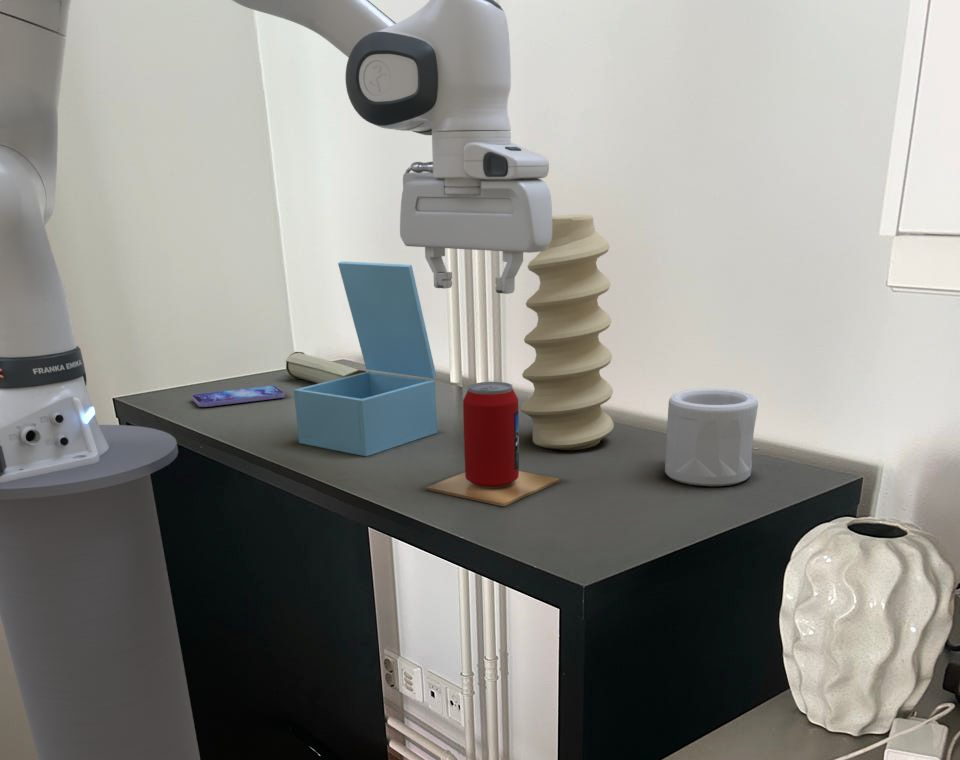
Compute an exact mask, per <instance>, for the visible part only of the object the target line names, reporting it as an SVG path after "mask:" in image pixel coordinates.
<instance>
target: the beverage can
mask: <svg viewBox="0 0 960 760" xmlns="http://www.w3.org/2000/svg"><path fill="white" fill-rule="evenodd" d="M467 388H468V390H467V392H466V393H465V396H464V398H463V399H462V413H463V415H462V417H463V421H462V422H463V447H464V448H463V449H464V472H465V476H466V479H467V480H468V481H470V482H471V483H473V484H474V485H475V486H478V487H482V488H500V487H505V486H508V485H510V484H511V483H512V482H513V481H515V480H516V479H517V478H518V476H519V471H520V464H519V463H520V432H519V431H520V430H519V428H520V427H519V425H520V424H519V423H520V422H519V420H520V419H519V414H520V413H519V398H518V396H517V394H516V392H515V390H514V389H513V388H514V387H513V384H511V383H509V382H505V381H481V382H475V383H471V384H470V385H468V387H467Z"/></svg>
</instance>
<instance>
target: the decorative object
mask: <svg viewBox="0 0 960 760" xmlns="http://www.w3.org/2000/svg"><path fill="white" fill-rule="evenodd" d="M610 247H611V246H610V244H609V242H608V240H607V239H606V238H604V237H603V235H601V234H600V233H598V232H597V231H596V227H595V223H594V217H593V216H592V215H591V214H556V215H552V239H551V242H550V244H549V246H548V247H547V249H546V250H545V251H540V252H538V253H537V255H536V256H535V257H534V258H532V259H531V260H530V261H529V262H528V264H527V266H526V267H527V269H528V271H530V272H532V273H534V274H535V275H536V276H537V277H538V279H539V287H538V289H537V291H535V292H534V293H533V294H532V295H531V296H530V297H529V298H528V299H527V300H526V302H525V306H526V308H527V309H529V310H532V311H533V312H535V313H536V316H537V323H536V326H535V327H534V328H533V329H532V330H531V331H529V332H528V333H527V334H526V335H525V336H524V339H523V341H524V343H525V344H526V345H529V346H530V347H532V348H533V349H534V351H535V357H534V358H535V359H534V361H533V362H532V363H531V364H530V365H529V366H528V367H527V368H525V369H524V370H523V372H522V374H521V376H522V378H523V379H525V380H527V381H528V382H530V383H532V385H533V388H534V389H533V394H532V396H530V398H529V399H528V400H526V401H525V402H524V403H522V405H521V406H520V411H521V413H522V414H525V415H527V416H529V417H530V418H531V422H532V443H533V444H535V446H539V447H540V448H544V449H548V450H549V449H550V450H559V451H561V450H562V451H576V450H584V449H588V448H592V447H595V446H597V445H598V444H600V442H601V440H603V439H604V438H606V437H608V436H609V435H610V434H611V433H612V431H613V429H614V427H615V424H614V421H613V419H612V418H611V416H610V415H609V414H608V413H606V412H605V411H604V410H602V407H601V405H604V404H605V403H607V402H608V401H609V400H610V399H611V398H612V396H613V393H614V390H613V387H612V385H611V384H610V382H608V381H607V380H606V379H605V378H603V377H602V376H601V374H600V372H601V371H600V370H601V369H604V368H606V367H607V366H609V365H610V364H611V361H612V360H613V355H612V352H611V350H610V349H609V348H608V347H607V346H605V344H603V343H602V342H601V341H600V338H599V335H600V334H601V333H603V332H604V331H606V330H608V329H609V328H610V326H611V323H612V318H611V316H610V315H609V314H608V313H607V312H606V311H605V310H604V309H602V307H601V306H599V302H598V298H599V297H600V296H601V295H603V294H606V292H608V291H609V289H610V287H611V282H610V279H609V278H608V277H607V275H605V274H603V273H602V272H601V271H600V269H599V268H598V265H597V261H598V259H599V258H600V257H602V256H604V255H605V254H607V253H608V251H609V249H610Z"/></svg>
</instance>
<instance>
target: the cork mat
mask: <svg viewBox="0 0 960 760" xmlns="http://www.w3.org/2000/svg"><path fill="white" fill-rule="evenodd" d="M560 481H561V478H557V477H552V476H547V475H542V474H537V473H532V472H526V471H521V470H519V476H518V478H517V479H516V480H515V481H513V482H512V483H511V484H510V485H508V486H505V487H500V488H482V487H478V486H475V485H474V484H473V483H471V482H470V481H468V480H467V479H466V476H465V471H464V472H462V473H459V474H457V475H454V476H451V477H449V478H446V479H444V480H441V481H438V482H436V483H433V484H431V485H429V486H426V491H429V492H434V493H439V494H444V495H448V496H453V497H457V498H462V499H467V500H471V501H475V502H479V503H485V504H489V505H494V506H499V507H503V508H504V507H507V506H509V505H510V504H514V503H515V502H518V501H519V500H522V499H524V498H526V497H528V496H531V495H533V494H535V493H537V492H540V491H542V490H544V489H546V488H549V487H551V486H553V485H555V484H557V483H561V482H560Z"/></svg>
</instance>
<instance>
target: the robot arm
mask: <svg viewBox="0 0 960 760" xmlns="http://www.w3.org/2000/svg"><path fill="white" fill-rule="evenodd" d="M231 1H232V2H234V3H236V4H238V5H239V6H242V7H243V8H244V7H245V8H247V9H250V10H253V11H257V12H260V13H263V14H267V15H271V16H274V17H277V18H280V19H284V20H286V21H290V22H292V23H295V24H297V25H300V26H302V27H304V28H306V29H309V30H310V31H311V32H314V33H316V34H317V35H319V36H321V38H323V39H325V40H326V41H327V42H329V43H330V44H331V45H332V46H333V47H334V48H336V49H337V50H339V52H341V53H342V54H343V55H344V56H346V57H347V58H348V59H347V62H346V66H345V79H344V80H345V88H346V94H347V96H348V99H349V101H350V103H351V106H352V107H353V109H354V111H355V112H356V113H357V114H358V115H359V117H360V118H362V119H363V120H364V121H366V122H368V123H370V124H372V125H374V126H376V127H378V128H381V129H385V130H386V129H387V130H395V131H402V132H405V131H406V132H413V133H416V134H419V135H424V136H431V151H432V152H431V153H432V155H431V157H432V161H427V162H422V161H414V162H412V163H411V164H410V166H408V167H407V169H406V170H405V172H404V173H403V175H402V193H401V198H400V199H401V201H400V211H399V212H400V213H399V236H400V239H401V241H402V242H403V244H404V246H406V247H414V248H424V258H425V260H426V262H427V264H428V266H429V268H430V270H431V272H432V274H433V286H434V288H435V289H451V288H452V286H453V280H452V279H453V272H452V271H448V270H447V267H446V265H445V262H444V259H443V257H445V256H446V249H450V250H451V249H454V250H471V251H472V250H474V251H489V252H490V251H492V252H502V262H503V263H505V266H504V269H503V271H502V274H501V276H496V277H495V285H496V286H495V292H496V293H497V294H504V295H509V294H513V293H514V292H515V288H516V285H515V284H516V281H515V279H516V276H517V275H518V274H519V273H518V272H519V271H520V269H521V266H522V264H523V262H524V253H526V254H527V253H540V252H541V251H545V250H546V249H547V247H548V246H549V244H550V242H551V239H552V216H553V205H552V204H553V203H552V195H551V191H550V187H549V186H548V184H547V182H545V181H544V180H543V179H545V178H547V176H548V175H549V173H550V171H549V170H550V163H549V159H548V158H547V156H545V155H542V154H540V153H537V152H535V151H533V150H530V149H528V148H526V147H523V146H520V145H518V144H516V143H514V142H512V129H511V127H512V126H511V122H510V118H509V114H508V101H509V97H510V92H511V87H512V67H511V66H512V65H511V62H512V61H511V45H510V44H511V43H510V34H509V33H510V32H509V25H508V21H507V20H508V19H507V16H506V13H505V11H504V9H503V8H502V6H501V5H500V4H499V3H498V2H496V0H428V2H427V3H426V4H424V6H422V7H421V8H420V9H418V10H417V11H416V12H414V13H412V14H411V15H410V16H408V17H406V18H405V19H403V20H401V21H399V22H395V21H394V20H393V19H392V18H390V17H389V16H388V15H387V14H386V13H385V12H383V11H382V10H380V9H379V8H378V7H377V6H376V5H375V4H374V3H373V2H371V1H370V0H231ZM71 2H72V0H0V483H3V482H8V481H13V480H18V479H23V478H27V477H32V476H37V475H42V474H47V473H52V472H56V471H61V470H66V469H71V468H76V467H81V466H85V465H90V464H95V463H97V462H99V461H100V456H101V455H102V454H104V453H105V452H107V451H108V449H109V445H108V443H107V442H106V440H105V438H104V436H103V434H102V432H101V429H100V427H99V425H100V424H99V422H98V420H97V418H96V417H97V416H96V411H95V407H94V406H93V405H92V403H91V400H90V399H91V398H90V396H89V393H88V389H87V373H86V368H85V364H84V359H83V354H82V350H81V348H80V347H79V346H78V345H77V342H76V336H75V332H74V331H75V330H74V326H73V320H72V316H71V311H70V306H69V301H68V295H67V290H66V286H65V283H64V282H63V280H62V276H61V274H60V271H59V268H58V266H57V263H56V260H55V257H54V253H53V250H52V246H51V242H50V240H49V236H48V233H47V230H46V229H47V228H46V224H47V223H48V222H49V221H50V219H51V217H52V215H53V213H54V209H55V202H56V201H55V200H56V188H57V173H58V172H57V170H58V139H59V138H58V136H59V135H58V134H59V133H58V132H59V131H58V130H59V124H58V123H59V104H60V97H61V96H60V94H61V87H62V86H61V84H62V77H63V68H64V61H65V51H66V44H67V43H66V42H67V38H66V37H67V32H68V25H69V24H68V22H69V13H70V8H71Z"/></svg>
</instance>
